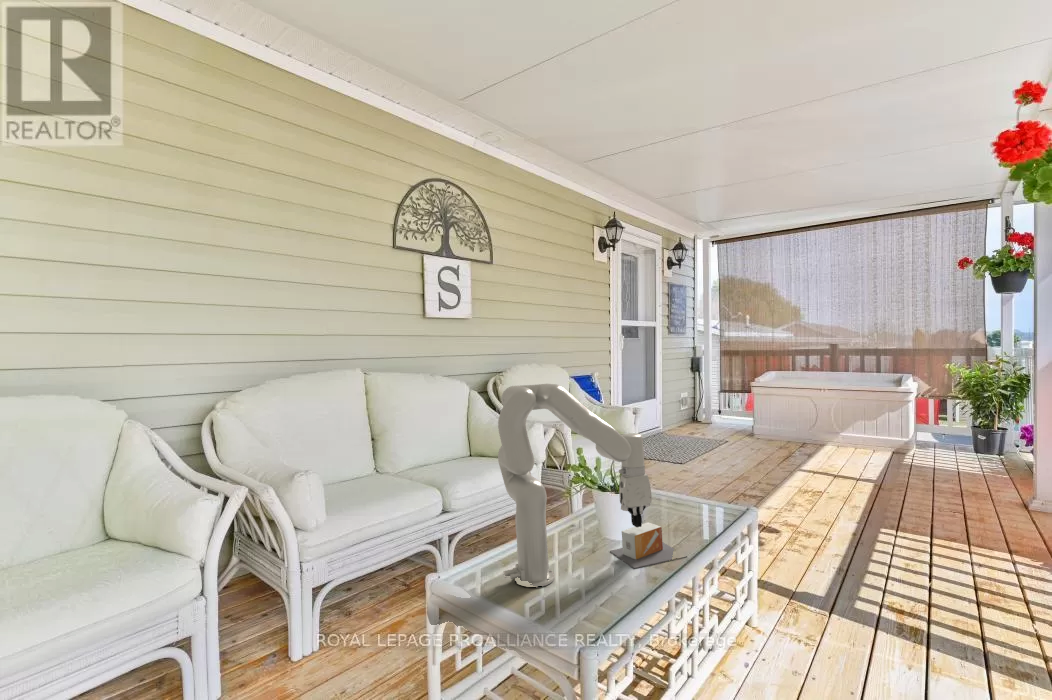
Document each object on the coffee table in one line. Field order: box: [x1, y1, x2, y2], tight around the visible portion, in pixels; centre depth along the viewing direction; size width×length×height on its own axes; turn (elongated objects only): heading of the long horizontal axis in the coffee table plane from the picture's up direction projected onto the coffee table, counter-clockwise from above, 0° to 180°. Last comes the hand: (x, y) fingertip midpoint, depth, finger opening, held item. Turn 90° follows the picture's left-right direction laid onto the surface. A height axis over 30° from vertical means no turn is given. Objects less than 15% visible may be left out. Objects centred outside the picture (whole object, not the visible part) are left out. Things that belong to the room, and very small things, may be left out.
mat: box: [609, 541, 675, 570], centre depth 172 cm, size 20×16×1 cm
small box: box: [621, 521, 663, 559], centre depth 173 cm, size 8×6×13 cm
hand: (636, 525), depth 170 cm, fingers closed
